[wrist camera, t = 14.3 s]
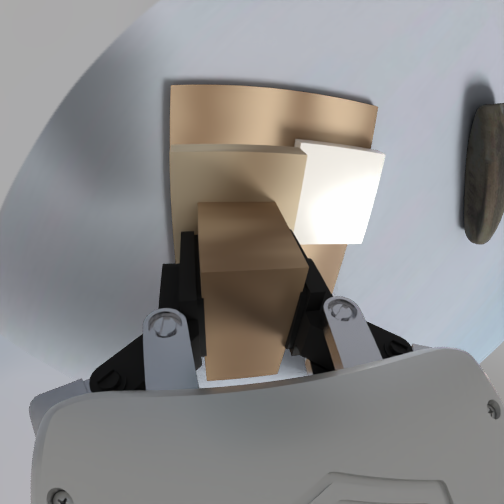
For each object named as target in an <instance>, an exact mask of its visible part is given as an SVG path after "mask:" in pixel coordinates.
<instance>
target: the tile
mask: <svg viewBox="0 0 504 504" xmlns="http://www.w3.org/2000/svg"><path fill="white" fill-rule="evenodd" d="M294 147H299V148H300V149H301V150H303V151H304V152H305V153H306V154H307V161H306V167H305V173H304V179H303V184H302V190H301V195H300V201H299V206H298V211H297V217H296V222H295V227H294V232H293V233H294V235H295V236H296V238H297V240H298V242H299V243H300V245H305V244H361V243H362V240H363V237H364V234H365V230H366V227H367V224H368V220H369V217H370V213H371V210H372V206H373V203H374V199H375V195H376V192H377V188H378V184H379V180H380V176H381V172H382V168H383V164H384V159H385V154H384V153H382V152H380V151H378V150H374V149H368V148H362V147H356V146H349V145H343V144H336V143H328V142H320V141H312V140H302V139H295V146H294Z"/></svg>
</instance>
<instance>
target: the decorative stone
mask: <svg viewBox="0 0 504 504" xmlns="http://www.w3.org/2000/svg"><path fill="white" fill-rule="evenodd" d="M503 212H504V103H500V104H492V105H491V104H488V105H487V104H486V105H483V106H480V107H479V108H478V110H477V111H476V115H475V118H474V121H473V124H472V128H471V133H470V137H469V143H468V149H467V158H466V173H465V199H464V228H465V233H466V236H467V238H468V239H469V240H470V241H471V242H472V243H475V244H485V243H486V242H488V241H489V240H490V238H491V237H492V235H493V234H494V232H495V231H496V229H497V227H498V224H499V222H500V220H501V218H502V215H503Z"/></svg>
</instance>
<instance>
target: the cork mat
mask: <svg viewBox="0 0 504 504" xmlns="http://www.w3.org/2000/svg"><path fill="white" fill-rule="evenodd" d="M377 111H378V107H377V106H373V105H369V104H365V103H361V102H356V101H352V100H347V99H342V98H337V97H332V96H326V95H320V94H314V93H308V92H301V91H293V90H285V89H276V88H266V87H254V86H238V85H171V95H170V148H171V145H177V144H249V145H271V146H287V147H294V146H295V139H302V140H312V141H320V142H328V143H336V144H343V145H349V146H356V147H362V148H368V149H371V144H372V139H373V133H374V128H375V122H376V117H377ZM301 247H302V249H303V251H304V252H305V254H306V256H307V258H311V259H312V260H313V262H314V263H315V265H316V267H317V269H318V270H319V272H320V274H321V276H322V278H323V279H324V281H325V283H326V285H327V287H328V288H329V290H330V292H331V294H332V292H333V289H334V286H335V283H336V280H337V277H338V273H339V270H340V267H341V264H342V260H343V257H344V254H345V250H346V247H347V244H305V245H301Z"/></svg>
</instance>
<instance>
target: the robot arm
mask: <svg viewBox="0 0 504 504" xmlns="http://www.w3.org/2000/svg"><path fill="white" fill-rule="evenodd" d="M290 231H291V233H292V235H293V237H294V238H295V240H296V242H297V244H298V246H299V248H300V250H301V252H302V254H303V256H304V258H305V260H306V262H307V264H308V266H309V269H308V273H307V277H306V280H305V284H304V288H303V291H302V292H300V296H299V300H298V303H297V307H296V310H295V314H294V317H293V321H292V324H291V327H290V331H289V334H288V337H287V341H286V344H285V348H286V349H290V352H291V355H292V356H295V355H301V356H303V357H305V365H306V369H307V374H308V376H304V377H298V378H292V379H285V380H279V381H271V382H264V383H256V384H247V385H237V386H227V387H215V388H200V389H199V384H198V379H197V375H196V370H197V369H198V368H199V367H201V366H202V360H201V357H204V356H207V350H206V332H205V312H204V298H202V294H201V279H200V262H199V243H198V235H194V231H184V232H181V241H180V263H177V264H163V267H162V276H161V286H160V298H159V309H157V310H155V311H153V312H151V313H150V314H149V315H147V316H146V318H145V320H144V322H143V334H142V335H141V336H139V337H138V338H137V339H135V340H134V341H133V342H131V343H130V344H129V345H127V346H126V347H125V348H123V349H122V350H121V351H119V352H118V353H117V354H115V355H114V356H113V357H111V358H110V359H109V360H107V361H106V362H105V363H103V364H102V365H101V366H99V367H98V368H97V369H96V370H95V371H94V372H93V373H92V375H91V377H90V379H88V380H85V381H83V380H82V379H79V380H77V381H74V382H72V383H69V384H66V385H64V386H61V387H58V388H56V389H53V390H50V391H48V392H45V393H42V394H39V395H38V396H36V397H35V398H34V399H33V400H32V401H31V403H30V407H29V413H30V418H31V422H32V425H33V429H34V433H35V435H36V440H35V445H34V452H33V458H32V469H31V504H504V404H503V402H502V400H501V399H500V397H499V395H498V393H497V391H496V390H495V388H494V386H493V385H492V383H491V381H490V380H489V378H488V376H487V375H486V373H485V372H484V371H483V369H482V368H481V366H480V365H479V364H478V362H477V361H476V360H475V359H474V358H473V357H472V356H471V355H470V354H469V353H468V352H466V351H464V350H461V349H457V348H450V347H434V348H432V347H427V346H422V345H417V344H412V346H410V344H409V343H408V342H407V341H406V340H405V339H403V338H401V337H399V336H397V335H395V334H393V333H391V332H388V331H386V330H384V329H382V328H380V327H378V326H375V325H373V324H371V323H369V322H367V321H366V320H365V318H364V316H363V314H362V312H361V310H360V308H359V306H358V305H357V304H356V303H355V302H354V301H352V300H350V299H348V298H345V297H340V296H335V297H333V296H332V294H331V292H330V290H329V288H328V287H327V285H326V283H325V281H324V279H323V278H322V276H321V274H320V272H319V270H318V269H317V267H316V265H315V263H314V262H313V260H312V259H311V258H307V256H306V254H305V252H304V251H303V249H302V247H301V245H300V243H299V242H298V240H297V238H296V236H295V235H294V233H293V231H292V230H291V229H290Z"/></svg>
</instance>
